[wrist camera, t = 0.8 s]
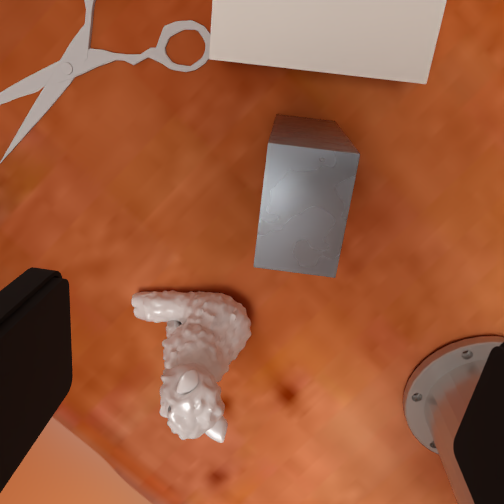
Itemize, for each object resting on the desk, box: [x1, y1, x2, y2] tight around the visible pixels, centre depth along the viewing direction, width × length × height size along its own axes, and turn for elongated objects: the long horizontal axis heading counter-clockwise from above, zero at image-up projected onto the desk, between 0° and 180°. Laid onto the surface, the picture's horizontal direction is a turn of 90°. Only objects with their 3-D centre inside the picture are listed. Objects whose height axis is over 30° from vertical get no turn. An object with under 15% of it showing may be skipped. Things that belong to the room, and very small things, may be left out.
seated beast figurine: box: [132, 290, 251, 443], centre depth 32 cm, size 10×9×12 cm
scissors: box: [0, 0, 211, 163], centre depth 30 cm, size 11×1×20 cm
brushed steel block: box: [254, 114, 360, 278], centre depth 26 cm, size 4×6×12 cm, turn 174°
